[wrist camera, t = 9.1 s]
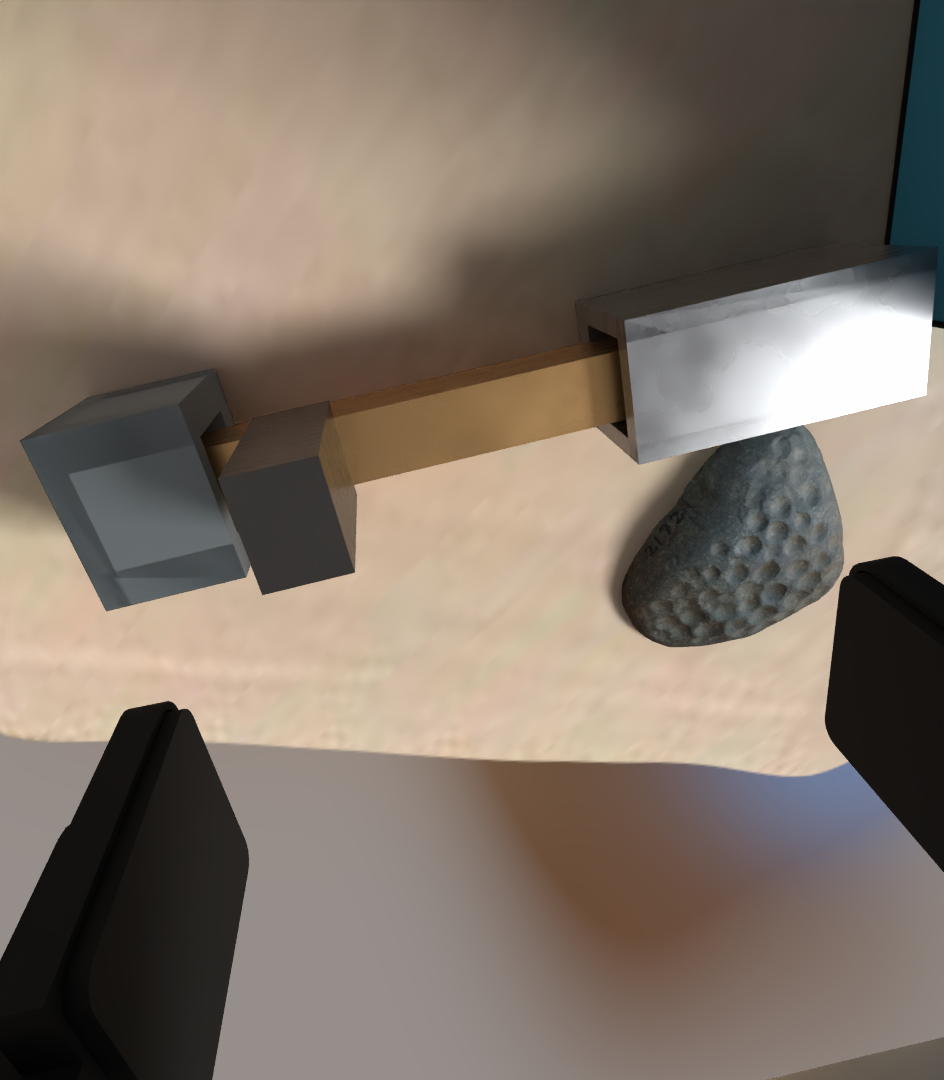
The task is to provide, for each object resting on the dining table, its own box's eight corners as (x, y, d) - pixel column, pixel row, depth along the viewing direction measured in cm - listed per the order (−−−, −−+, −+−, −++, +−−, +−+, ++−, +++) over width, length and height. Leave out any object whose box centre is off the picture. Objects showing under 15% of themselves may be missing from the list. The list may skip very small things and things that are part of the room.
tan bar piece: (129, 434, 29) (30, 523, 20) (643, 314, 30) (756, 351, 21) (166, 521, 30) (90, 637, 22) (651, 405, 31) (758, 473, 23)
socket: (87, 397, 30) (20, 440, 24) (214, 368, 30) (178, 403, 24) (152, 541, 33) (106, 611, 27) (267, 514, 33) (246, 577, 27)
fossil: (861, 526, 39) (912, 556, 35) (675, 670, 41) (705, 711, 37) (775, 393, 35) (822, 412, 31) (574, 560, 37) (597, 595, 33)
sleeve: (575, 301, 31) (624, 320, 25) (831, 242, 32) (938, 247, 26) (590, 422, 33) (639, 464, 28) (828, 365, 34) (925, 394, 28)
